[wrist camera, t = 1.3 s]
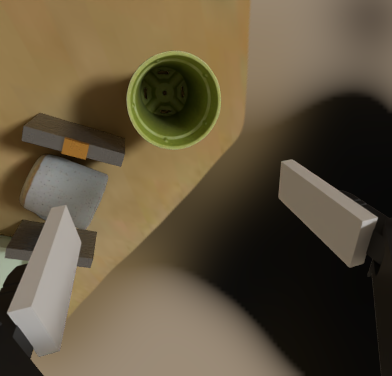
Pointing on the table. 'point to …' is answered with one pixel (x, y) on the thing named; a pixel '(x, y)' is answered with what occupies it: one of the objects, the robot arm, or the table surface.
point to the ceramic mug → (63, 189)
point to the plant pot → (173, 100)
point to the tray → (7, 260)
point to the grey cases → (73, 146)
